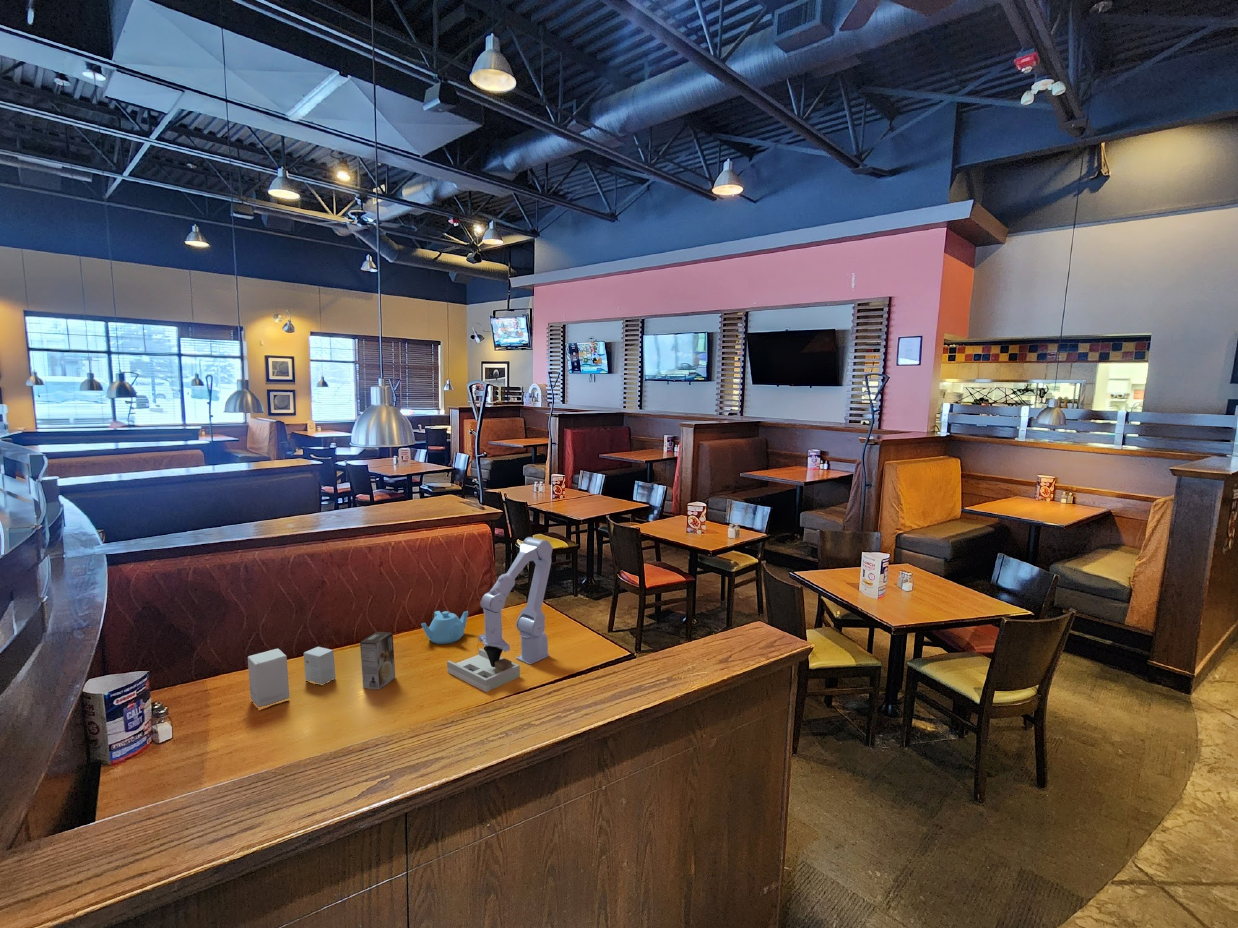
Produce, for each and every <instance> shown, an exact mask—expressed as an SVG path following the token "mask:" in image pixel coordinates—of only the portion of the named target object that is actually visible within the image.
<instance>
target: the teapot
mask: <svg viewBox="0 0 1238 928" xmlns="http://www.w3.org/2000/svg"><path fill="white" fill-rule="evenodd" d="M468 616H469V611H468V610H466V611H463V613H462V615H461V617H460V618H459V616H457V614H455V613H452V612H450V611H449V610H448V611H447V610H446V611H442V612H441V611H440V610H436V611H434V613H433V620H432V621H431V623H430V625H429V627H428V625H427V623H426V622H422V623H421V624H420V625H421V627H422V629H423V632H424V633H425V635H426V637H427V638H428V639H429V640H430V641H431V642H432V643H434V644H438V645H445V644H447V645H448V644H452V643H455V642H457V641H459V640H460V639H461V638H463V636H464V634H465V629H466V625H467V622H468V621H467V620H468Z"/></svg>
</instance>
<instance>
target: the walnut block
mask: <svg viewBox="0 0 1238 928" xmlns="http://www.w3.org/2000/svg"><path fill="white" fill-rule="evenodd" d="M502 658H503V659H501V660H498V661H496V662H495V674H497V673H500V672H502V671H504V670H506V669H509V668H511V667H512V662H513V661H512V660H509V659H508V658H506V657H502Z"/></svg>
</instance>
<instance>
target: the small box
mask: <svg viewBox="0 0 1238 928" xmlns="http://www.w3.org/2000/svg"><path fill="white" fill-rule="evenodd" d="M334 654H335V653H334V650H333V649H330V648H326V647H321V646H316V647H314V648H311V649H309V650H306V651H304V652H303V663H304V665H303V666H304V673H305V674H304V676H305V681H306V680H308V681H313V682H315V683H319V684H324V683H327V682H328V681H331V680H333V681H335V680H336V679H337V677H336V676H337V675H336V666H335V665H336V664H335V655H334ZM335 678H336V679H335ZM334 679H335V680H334ZM331 682H332V681H331ZM327 684H328V683H327Z"/></svg>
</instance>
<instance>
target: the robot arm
mask: <svg viewBox="0 0 1238 928" xmlns="http://www.w3.org/2000/svg"><path fill="white" fill-rule="evenodd" d="M553 549H554V547H553V546H552V543H550V541H548V539H546V540H545V539H540V538H535V537H533V536H527V537H526V538H525V539H524V540H523V542H522V543H521V544H520V546H519V552H518V553H517V556H516V557H515V559H514V561H513V562H512V564H511V566H510V567H509V569H507V570H508V571H506V573H502V574H500V576H498V578H497V580H496V582H495V583H494V585H493V586H492V588H490V590H489V591H488V592H486V593H485V594H484V595H483V596H482V597H481V601H480V602H479V605H480V607H481V608H482V609H483V615H484V617H483V618H484V634H480V635H478V642H480V643H481V642H482V646H483V650H485V652H486V653H487V655H488V658H489V661H490V664H491V667H495V662H496V661H498V660H499V659H500V657H501V655H502V653H503V652H505V653H507V652H509V651H510V650H511V649H510V648H511V647H510V645H511V644H509V643H508V642H506V641H505V640H504V639H503V624H502V623H503V620H502V610H503V609H504V608H505V604H506V600H507V597H508V595H509V593H510V592H511V591H512V590H513V588H514V586H515V585H516V580H515V579H516V578H517V576H519V574H520V573H521V572H522V570H524V568H525V567H526V565H527V564H528V563H529V562H533V563H534V564H535V566H534V572H533V576H532V580H531V585H530V589H529V593H528V598H527V602H526V603H527V604H526V606H525V607H524V608H523V609H521V610H520V614H519V616H518V618H517V619H516V623H515V627H516V630H517V631H519V635H520V649H521V650H520V651H521V653H520V655H519V656H516V660H519V661H521V662H523V663H525V664H528V665H532V664H535V663H537V662H539V661H541V660H544V659H546V658H548V657H550V654H549V649H548V648H549V647H548V645H549V643H548V641H549V640H548V635H547V634H546V632H545V629H546V624H545V623H546V622H545V620H546V616H545V613H544V612H543V610H542V608H543V602H544V598H545V594H546V591H547V590H546V588H547V585H548V579H549V575H550V570H551V565H552V553H553Z"/></svg>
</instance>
